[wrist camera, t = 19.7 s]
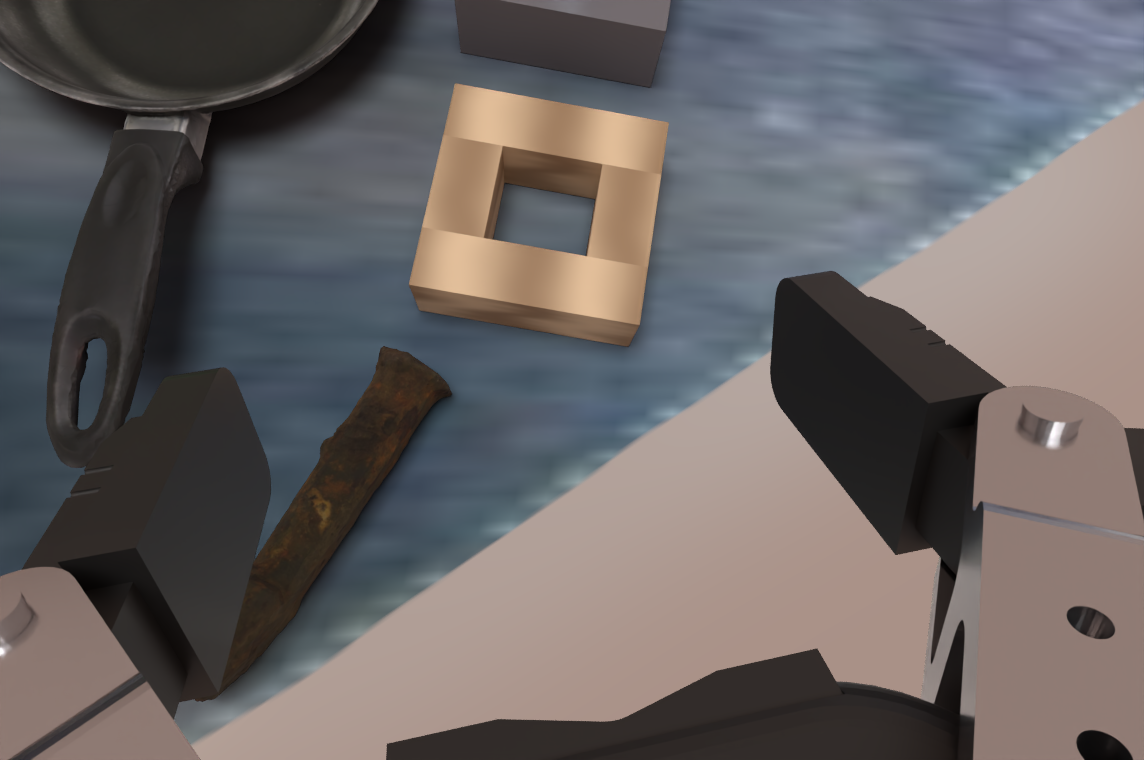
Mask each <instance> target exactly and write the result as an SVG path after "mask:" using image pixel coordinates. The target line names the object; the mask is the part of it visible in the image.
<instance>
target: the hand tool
mask: <svg viewBox="0 0 1144 760" xmlns="http://www.w3.org/2000/svg"><path fill="white" fill-rule="evenodd" d="M450 395H452V393H451V391H450V389H449V386H448V384H447V383H446V381H445V380H444V379H443V378H442V377H441V376H440V375H439V374H438V373H436V372H435V371H433V370H432V369H430V368H429V367H428V366H426V365H425V364H423V363H422V362H421V361H419V360H418V359H416V358H415V357H413V356H412V355H411V354H409V353H408V352H402V351H399V350H397V349H391V348H388V347H385V346H383V347H382V348H381V349H380V353H379V359H378V363H377V365H376V373H375V374H374V377H373V380H372V382H371V384H370V385H369V387H368V388H367V389H366V391H365V392H364V394H363V396H362V397H361V398H360V399H359V401H358V403H357V405H356V406H355V408H354V409H353V411H352V412H351V414H350V416H349V417H348V418H347V419H346V420H345V421H344V422H343V424H342V425H341V426H339V427H338V428H337V430H336V432H335V433H334V436H332V437H330V438H328V439H326V440H324V442H323V443H322V445H321V447H320V459H319V462H318V464H317V465H316V467H315V468H314V470H313V471H312V473H311V474H310V476H309V477H308V479H307V481H306V482H305V484H304V485H303V486H302V488H301V489H300V491H299V492H298V494H297V495H296V497H295V498H294V500H293V501H292V503H291V505H290V507H289V509H288V510H287V511H286V513H285V514H284V516H283V517H282V519H281V520H280V522H279V523H278V525H277V527H276V528H275V530H274V531H273V533H272V535H271V536H270V538H269V539H268V541H267V542H266V544H265V545H264V547H263V548H262V550H261V551H260V553H259V554H258V556H257V558H256V559H255V560H254V562H253V565H252V569H251V573H250V577H249V580H248V584H247V588H246V592H245V596H244V599H243V603H242V607H241V611H240V615H239V618H238V622H237V626H236V630H235V634H234V637H233V641H232V645H231V649H230V653H229V656H228V660H227V664H226V668H225V672H224V675H223V679H222V683H221V687H220V691H219V694H216V695H211V696H206V697H201V698H197V699H195V700H196V701H197V702H198V701H202V702H203V701H205V700H208V699H209V700H212V699H215V698H216V697H217V696H218V695H220V694H221V693H222V692H223V691H224V690H225V689H226V688H227V687H228V686H229V685H230V684H231V683H233V682H234V681H235V680H236V679H237V678H238V677H239V676H240V675H241V674H243V673H245V672H246V671H247V670H248V668H249V667H250V666H251V664H252V663H253V662H254V661H255V659H256V658H258V657H259V656H261V655H262V654H263V652H264V651H265V650H266V649H267V647H268V646H269V645H270V643H271V642H272V641H273V640H274V638H275V637H276V636H277V635H278V634H279V633H280V632H281V631H282V630H283V629H284V628H285V626H286V625H287V624H288V623H289V621H290V620H291V619H292V618H293V617H294V616H295V615H296V613H297V611H298V609H299V606H300V604H301V600H302V598H303V596H304V595H305V593H306V592H307V590H308V589H309V587H310V586H311V584H312V583H313V581H314V580H315V579H316V577H317V576H318V574H319V573H320V571H321V570H322V569H323V567H324V566H325V564H326V563H327V562H328V560H329V559H330V557H331V556H332V554H333V553H334V551H335V550H336V548H337V547H338V546H339V544H340V543H341V541H342V540H343V538H344V537H345V536H346V534H347V533H348V532H349V530H350V529H351V527H352V526H353V524H354V523H355V521H356V519H357V518H358V516H359V514H360V512H361V510H362V509H363V507H364V506H365V505H366V503H367V502H368V500H369V499H370V497H371V496H372V494H373V492H374V491H375V490H376V489H377V488H378V487H379V486H380V485H381V483H382V481H383V479H384V478H385V477H386V476H387V474H388V473H389V472H390V471H391V469H392V468H393V466H394V465H395V463H396V462H397V461H398V459H399V457H400V454H401V452H402V451H403V449H404V448H405V446H406V445H407V444H408V441H409V438H410V437H411V435H412V434H413V432H414V431H415V430H416V428H417V427H418V425H419V423H420V422H421V420H422V419H423V417H424V416H425V415H426V413H427V412H428V411H429V409H430V408H431V406H432V405H433V404H434V403H435V402H437V401H438V400H439V399H440V398H444V397H447V396H450Z"/></svg>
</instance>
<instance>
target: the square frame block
mask: <svg viewBox="0 0 1144 760" xmlns="http://www.w3.org/2000/svg"><path fill="white" fill-rule="evenodd" d="M668 124H669V123H668V122H663V121H657V120H652V119H646V118H641V117H635V116H630V115H624V114H619V113H614V112H608V111H603V110H597V109H592V108H586V107H581V106H575V105H570V104H564V103H559V102H554V101H548V100H543V99H537V98H532V97H526V96H521V95H515V94H510V93H505V92H499V91H494V90H488V89H483V88H477V87H472V86H466V85H461V84H456V83H455V87H454V91H453V95H452V100H451V104H450V108H449V113H448V117H447V121H446V126H445V130H444V134H443V139H442V143H441V148H440V152H439V156H438V161H437V165H436V169H435V174H434V178H433V182H432V187H431V191H430V195H429V200H428V204H427V208H426V213H425V217H424V221H423V226H422V230H421V234H420V239H419V243H418V247H417V252H416V256H415V260H414V265H413V269H412V273H411V278H410V282H409V286H410V289H411V291H412V293H413V296H414V298H415V301H416V303H417V305H418V308H419V310H420V311H426V312H432V313H438V314H443V315H449V316H455V317H461V318H466V319H472V320H478V321H484V322H489V323H495V324H501V325H506V326H512V327H518V328H524V329H529V330H535V331H541V332H547V333H552V334H558V335H564V336H570V337H575V338H581V339H587V340H593V341H598V342H604V343H610V344H615V345H621V346H627V347H628V346H629V344H630V343H631V341H632V339H633V337H634V335H635V333H636V331H637V329H638V327H639V325H640V318H641V311H642V304H643V297H644V290H645V283H646V277H647V270H648V263H649V256H650V249H651V242H652V235H653V228H654V221H655V214H656V207H657V200H658V193H659V186H660V180H661V173H662V166H663V159H664V152H665V145H666V138H667V131H668ZM504 183H509V184H515V185H520V186H526V187H531V188H537V189H542V190H548V191H553V192H559V193H565V194H570V195H576V196H581V197H587V198H592V199H595V204H594V210H593V216H592V222H591V227H590V233H589V239H588V245H587V251H586V256H582V255H577V254H571V253H565V252H560V251H554V250H548V249H543V248H537V247H531V246H526V245H520V244H515V243H509V242H503V241H498V240H493V236H494V232H495V227H496V222H497V217H498V212H499V207H500V202H501V197H502V192H503V187H504Z"/></svg>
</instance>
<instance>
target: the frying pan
mask: <svg viewBox="0 0 1144 760" xmlns="http://www.w3.org/2000/svg"><path fill="white" fill-rule="evenodd" d="M378 1H379V0H0V62H2V63H3V64H4V65H6V66H7V67H8V68H10V69H12V70H13V71H15V72H16V73H18V74H20V75H21V76H23V77H24V78H26V79H28V80H30V81H32V82H34V83H36V84H37V85H40V86H42V87H44V88H47V89H49V90H51V91H54V92H56V93H58V94H61V95H64V96H66V97H69V98H72V99H76V100H79V101H83V102H86V103H91V104H95V105H100V106H105V107H110V108H116V109H119V110H121V111H124V112H127V118H126V121H125V125H124V129H120V130H116V131H114V134H113V137H112V142H111V145H110V150H109V154H108V158H107V161H106V165H105V168H104V171H103V175H102V177H101V178H100V180H99V183H98V185H97V187H96V189H95V192H94V195H93V197H92V200H91V202H90V205H89V207H88V209H87V212H86V214H85V217H84V219H83V222H82V225H81V228H80V231H79V234H78V237H77V241H76V244H75V247H74V250H73V254H72V257H71V260H70V262H69V266H68V269H67V273H66V275H65V281H64V285H63V289H62V292H61V297H60V304H59V306H58V311H57V318H56V322H55V327H54V333H53V337H52V347H51V352H50V362H49V372H48V382H47V412H46V423H47V429H48V433H49V436H50V439H51V442H52V444H53V447H54V449H55V451H56V453H57V455H58V457H59V458H60V460H61V461H62V462H63V463H64V464H66V465H67V466H70V467H73V468H82V467H84V466H87V465H88V463H89V462H90V460H91V458H92V457H93V455H94V454H95V452H96V451H97V449H98V447H99V446H100V444H101V443H102V442H103V441H104V440H106V439H107V438H108V437H109V436H111V435H112V434H113V433H114V432H115V431H117V430H118V429H119V428H120V427H121V426H123V424H124V422H125V418H126V416H127V414H128V412H129V410H130V407H131V403H132V400H133V396H134V392H135V388H136V385H137V381H138V377H139V374H140V370H141V367H142V360H143V353H144V352H145V351H144V346H145V343H146V339H147V335H148V331H149V327H150V322H151V317H152V314H153V308H154V303H155V298H156V291H157V285H158V279H159V271H160V263H161V254H162V248H163V238H164V233H165V226H166V218H167V215H168V210H169V208H170V205H171V202H172V200H173V198H174V196H175V194H176V193H177V192H178V191H179V190H180V189H182V188H184V187H186V186H188V185H192V184H195V183H198V181H199V180H200V179H201V175H202V172H203V165H202V163H201V157H202V154H203V150H204V145H205V141H206V137H207V132H208V127H209V124H210V121H211V115H212V112H215V111H221V110H227V109H233V108H236V107H240V106H244V105H248V104H252V103H255V102H258V101H260V100H263V99H266V98H269V97H271V96H274V95H276V94H278V93H281V92H283V91H285V90H287V89H289V88H291V87H293V86H295V85H297V84H299V83H301V82H302V81H304V80H305V79H307V78H308V77H310V76H311V75H312V74H314V73H315V72H317V71H318V70H319V69H321V68H322V67H323V66H324V65H326V64H327V63H328V62H329V61H330V60H331V59H333V58H334V57H335V56H336V55H337V54H338V53H339V52H340V51H341V50H342V49H343V48H344V47H345V46H346V45H347V44H348V42H349V41H350V40H351V39H352V37H353V36H354V35H355V34H356V32H357V31H358V30H359V28H360V27H361V25H362V24H363V22H364V21H365V19H366V18H367V17H368V15H369V14H370V13H371V12H372V10H373V9H374V7H375V5H376V4H377V2H378ZM98 338H101V339H103V340H104V341H105V343H106V346H107V356H108V359H107V370H106V379H105V387H104V392H103V398H102V401H101V403H100V406H99V410H98V413H97V416H96V418H95V420H94V422H93V423H92V425H91V426H90V427H89V428H88V429H85V430H80V429H79V428H78V427H77V425H78V407H79V391H80V382H81V380H82V377H83V375H84V372H85V368H86V361H87V359H88V354H87V348H88V342H90V341H91V340H93V339H98Z"/></svg>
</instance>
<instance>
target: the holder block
mask: <svg viewBox="0 0 1144 760" xmlns="http://www.w3.org/2000/svg"><path fill="white" fill-rule="evenodd" d="M670 1H671V0H455V7H456V15H457V24H458V32H459V40H460V49H461V53H467V54H472V55H478V56H483V57H488V58H494V59H499V60H505V61H510V62H515V63H521V64H526V65H532V66H537V67H543V68H548V69H553V70H559V71H564V72H570V73H575V74H580V75H586V76H591V77H597V78H602V79H607V80H613V81H618V82H624V83H629V84H634V85H640V86H645V87H651V83H652V80H653V76H654V73H655V69H656V65H657V62H658V58H659V55H660V51H661V47H662V44H663V40H664V36H665V33H666V28H667V21H668V14H669V8H670Z"/></svg>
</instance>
